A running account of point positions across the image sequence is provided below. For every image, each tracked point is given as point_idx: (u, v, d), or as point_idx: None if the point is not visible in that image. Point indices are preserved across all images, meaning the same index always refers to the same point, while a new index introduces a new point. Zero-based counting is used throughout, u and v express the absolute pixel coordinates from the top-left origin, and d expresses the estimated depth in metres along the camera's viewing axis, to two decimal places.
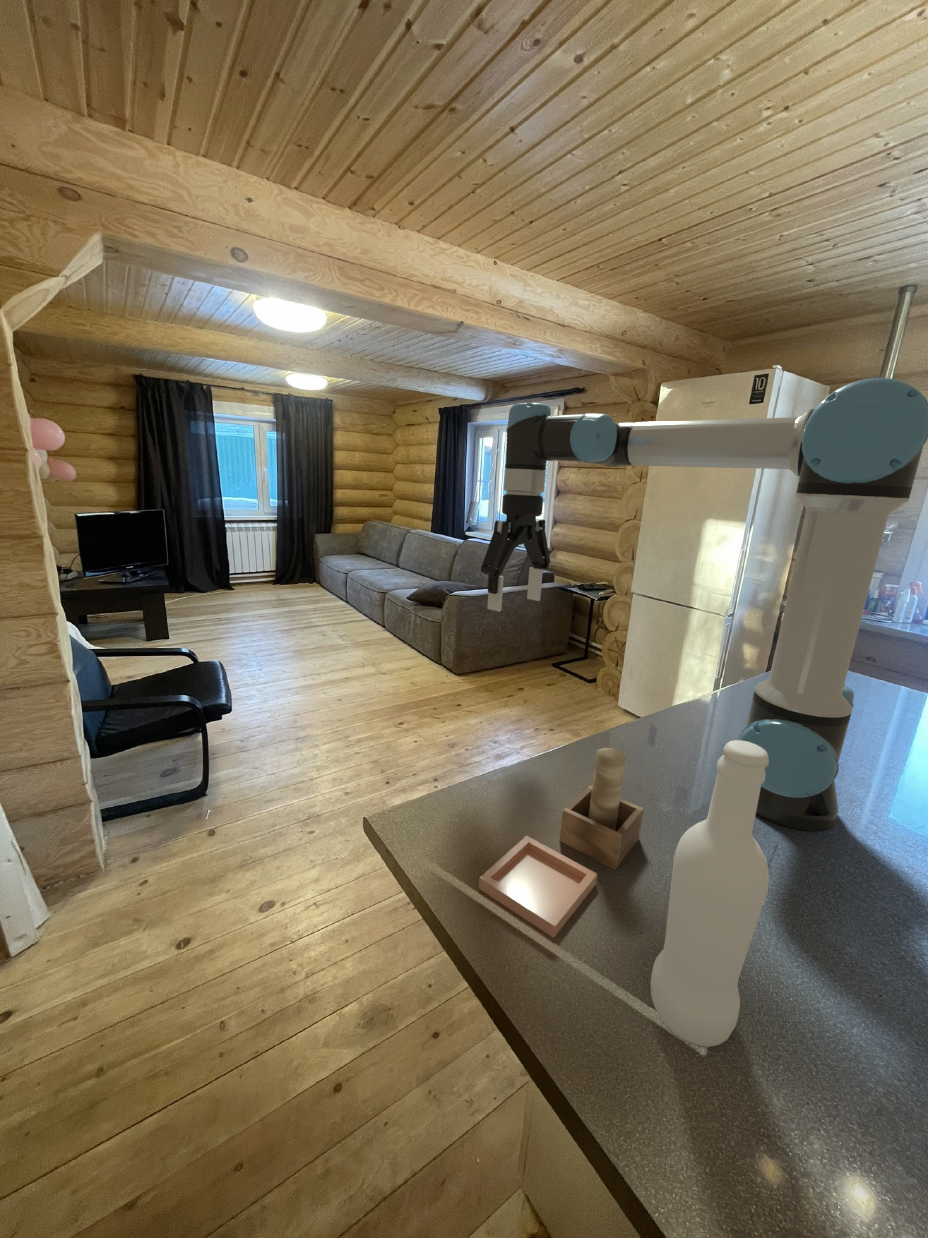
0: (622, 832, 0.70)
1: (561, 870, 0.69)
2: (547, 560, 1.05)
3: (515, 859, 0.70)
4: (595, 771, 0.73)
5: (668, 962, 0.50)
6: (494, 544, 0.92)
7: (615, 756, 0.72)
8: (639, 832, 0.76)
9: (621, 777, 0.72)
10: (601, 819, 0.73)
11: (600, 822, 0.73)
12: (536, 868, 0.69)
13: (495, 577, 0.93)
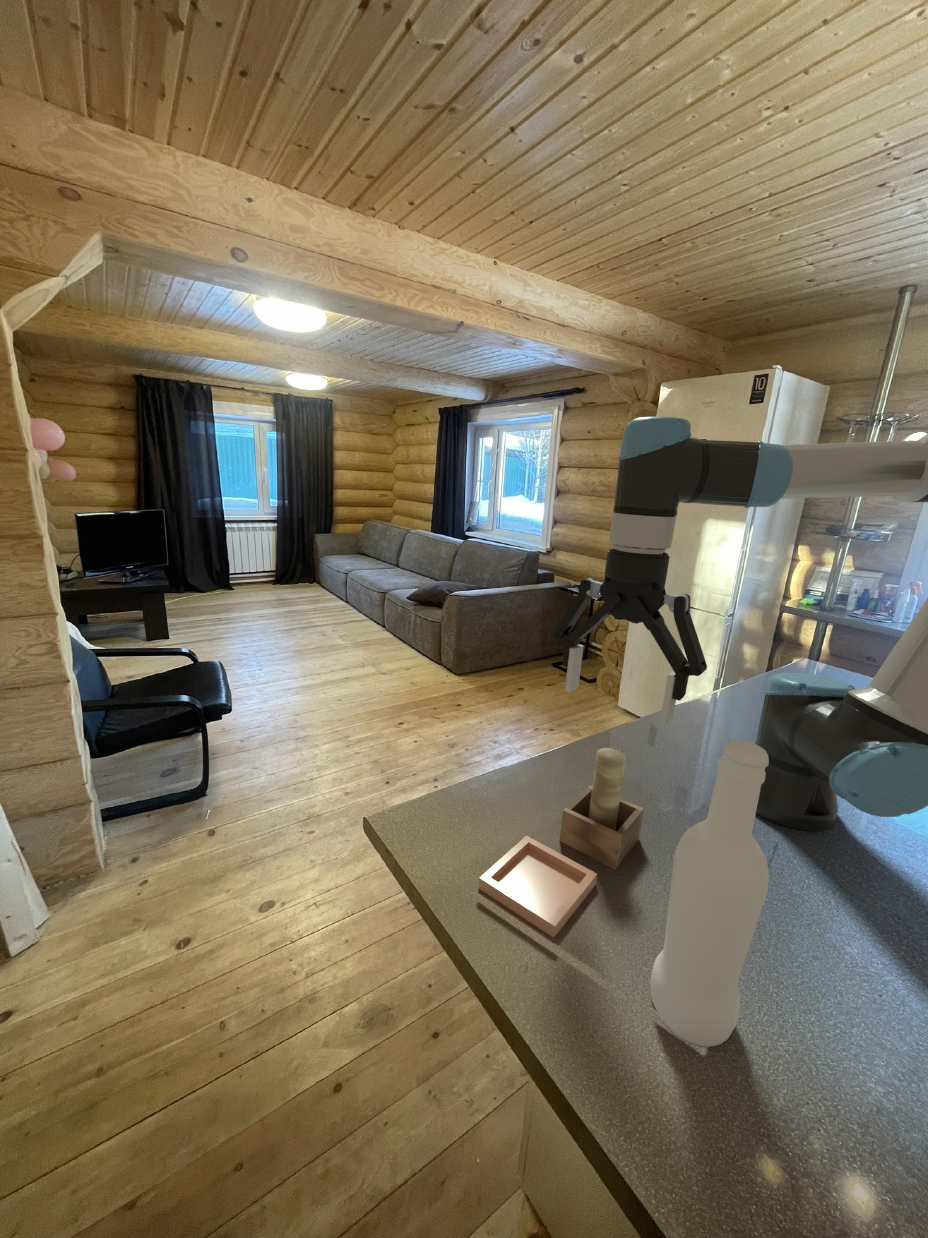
0: (622, 832, 0.70)
1: (561, 870, 0.69)
2: (692, 667, 0.62)
3: (515, 859, 0.70)
4: (595, 771, 0.73)
5: (668, 962, 0.50)
6: None
7: (616, 757, 0.72)
8: (639, 832, 0.76)
9: (621, 777, 0.72)
10: (601, 819, 0.73)
11: (600, 822, 0.73)
12: (536, 868, 0.69)
13: (566, 646, 0.73)
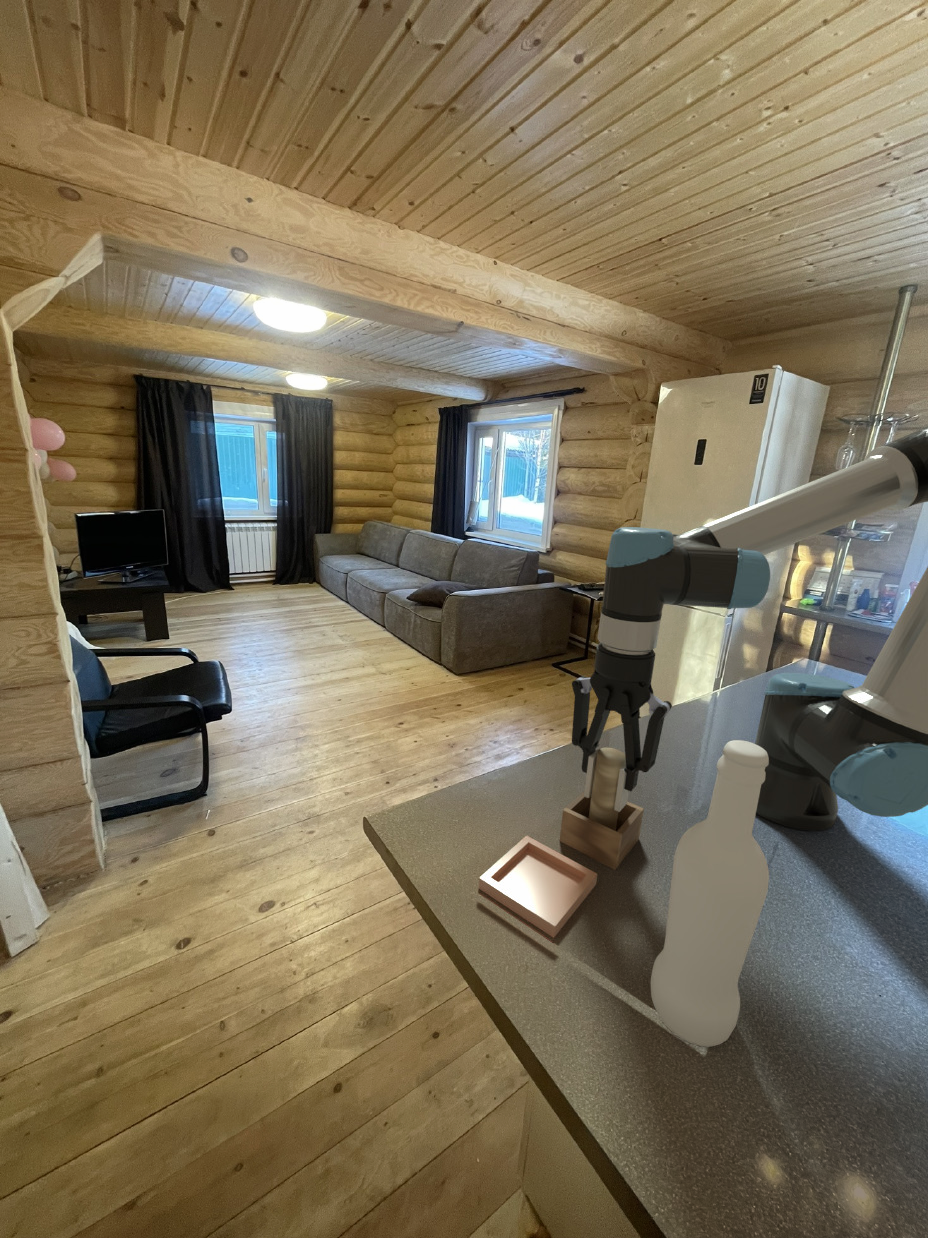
0: (622, 832, 0.70)
1: (561, 870, 0.69)
2: (641, 763, 0.68)
3: (515, 859, 0.70)
4: (596, 771, 0.73)
5: (668, 962, 0.50)
6: None
7: (616, 756, 0.72)
8: (639, 832, 0.76)
9: None
10: (601, 819, 0.73)
11: (601, 822, 0.73)
12: (536, 868, 0.69)
13: (584, 753, 0.74)
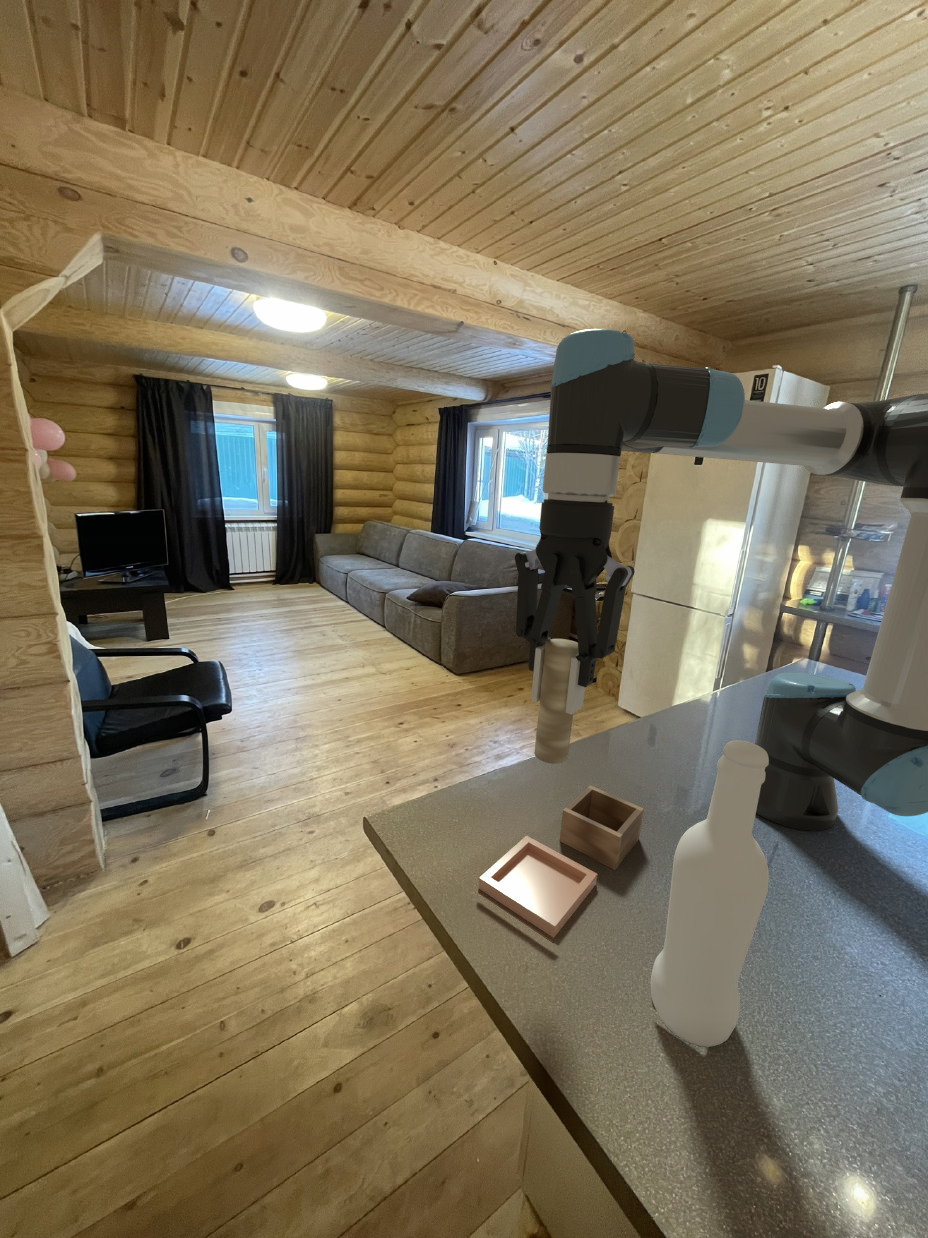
0: (622, 832, 0.70)
1: (561, 870, 0.69)
2: (597, 647, 0.54)
3: (515, 859, 0.70)
4: (544, 664, 0.58)
5: (668, 962, 0.50)
6: None
7: (568, 645, 0.58)
8: (639, 832, 0.76)
9: None
10: (551, 725, 0.59)
11: (550, 729, 0.59)
12: (536, 868, 0.69)
13: (531, 645, 0.60)
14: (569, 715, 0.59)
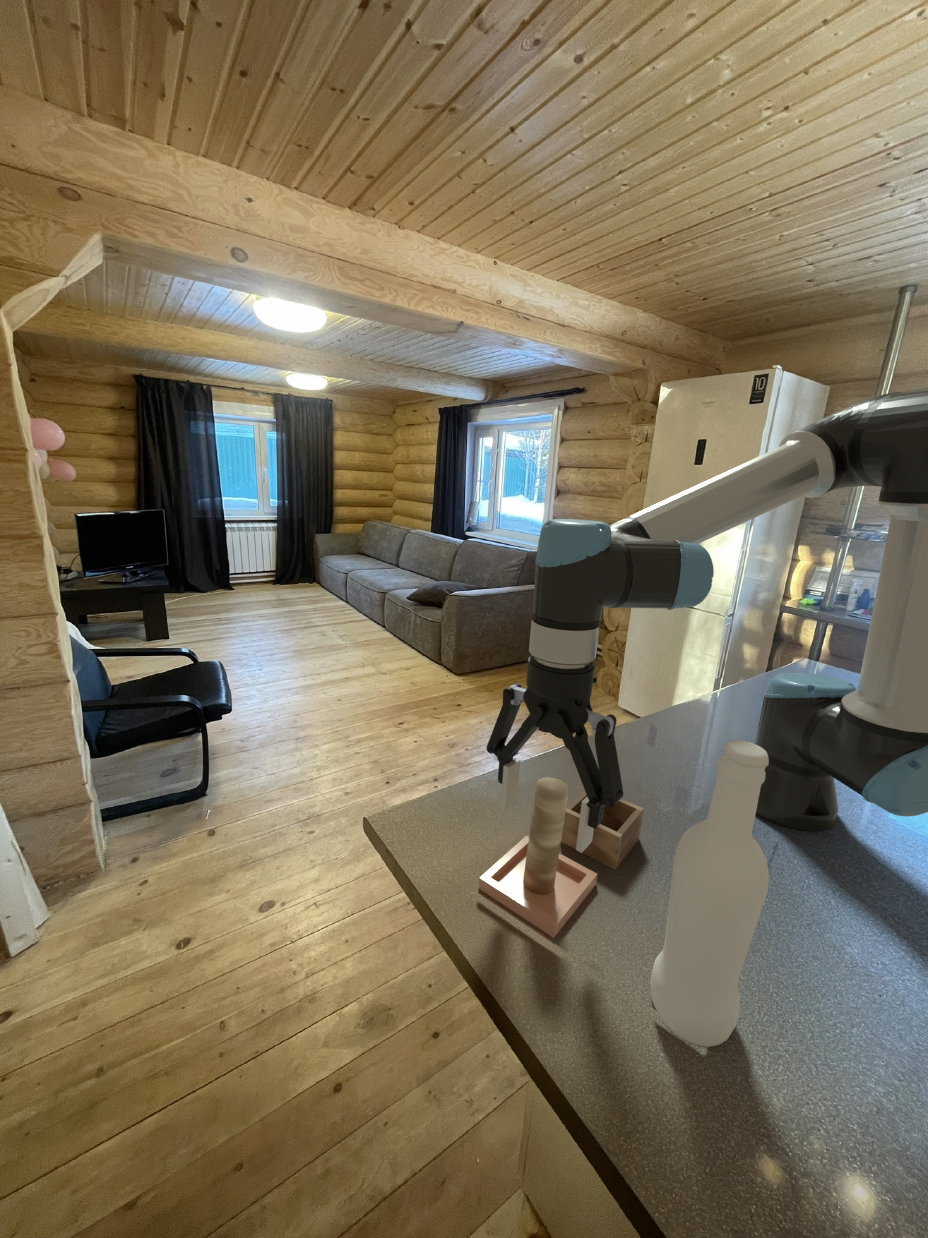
0: (622, 832, 0.70)
1: (561, 870, 0.69)
2: (605, 797, 0.56)
3: (515, 859, 0.70)
4: (534, 804, 0.64)
5: (668, 962, 0.50)
6: None
7: (557, 788, 0.63)
8: (639, 832, 0.76)
9: (562, 812, 0.62)
10: (539, 860, 0.64)
11: (538, 864, 0.64)
12: None
13: None
14: (556, 851, 0.64)
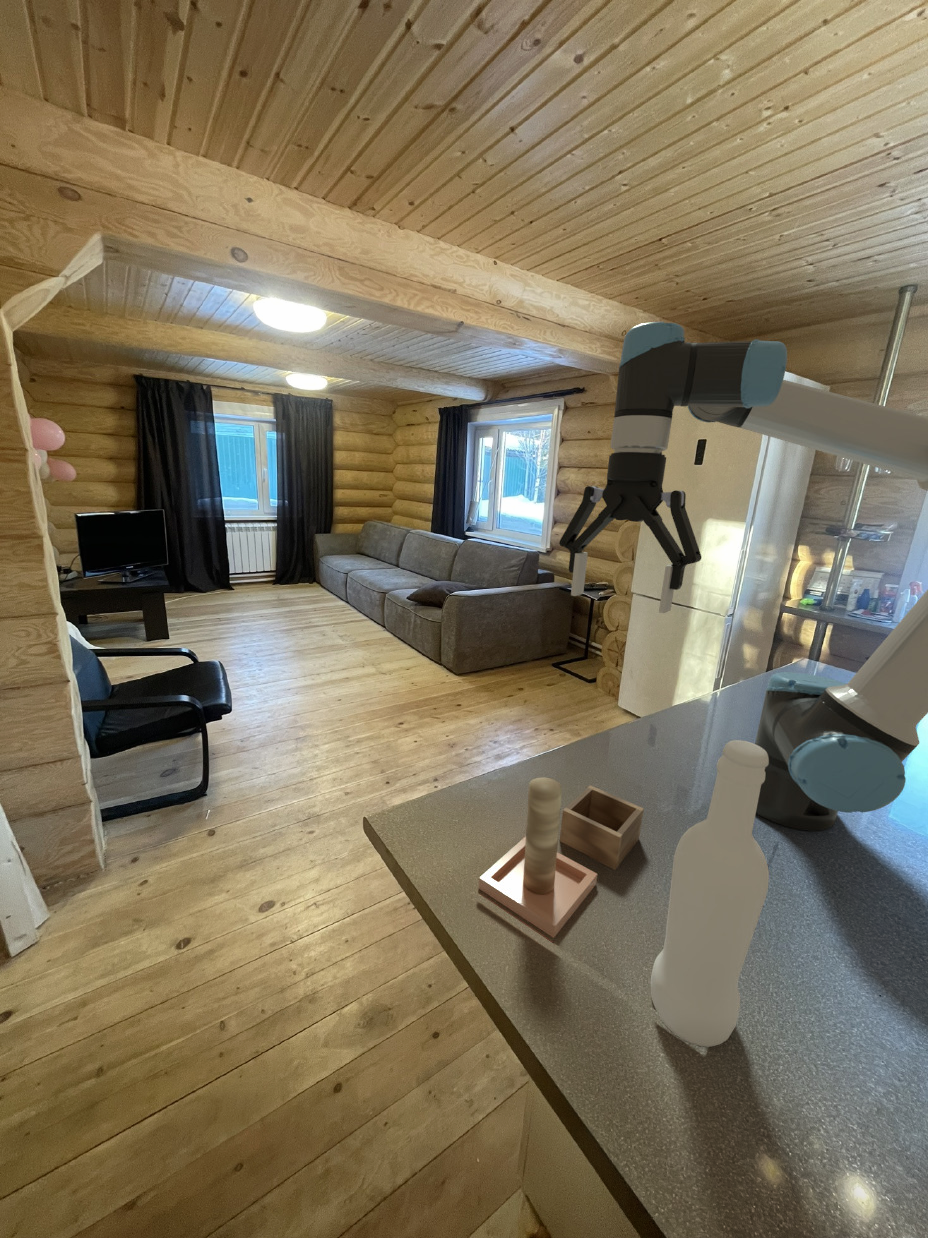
0: (622, 832, 0.70)
1: (561, 870, 0.69)
2: (687, 556, 0.68)
3: (515, 859, 0.70)
4: (528, 805, 0.63)
5: (668, 962, 0.50)
6: None
7: (550, 788, 0.63)
8: (639, 832, 0.76)
9: (557, 812, 0.62)
10: (536, 861, 0.64)
11: (536, 864, 0.64)
12: None
13: (571, 552, 0.79)
14: (553, 851, 0.64)
